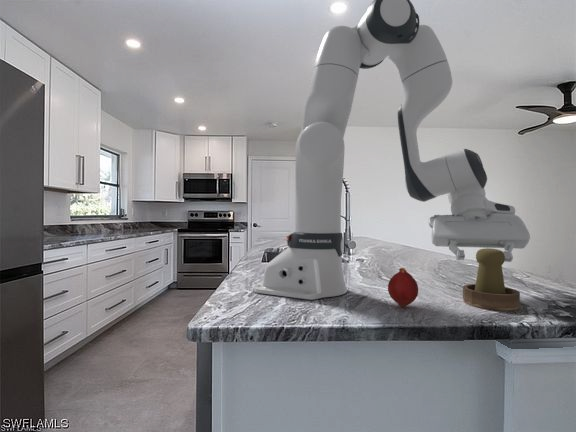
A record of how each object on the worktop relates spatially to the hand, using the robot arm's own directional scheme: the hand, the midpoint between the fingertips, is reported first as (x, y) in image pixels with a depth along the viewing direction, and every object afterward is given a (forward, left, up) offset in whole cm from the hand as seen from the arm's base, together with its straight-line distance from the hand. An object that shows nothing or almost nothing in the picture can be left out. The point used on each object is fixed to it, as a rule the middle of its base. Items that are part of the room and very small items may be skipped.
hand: (484, 259), depth 73 cm
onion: (-18, -12, -9) cm, 24 cm away
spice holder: (0, -5, -9) cm, 10 cm away
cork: (0, -5, -8) cm, 10 cm away
